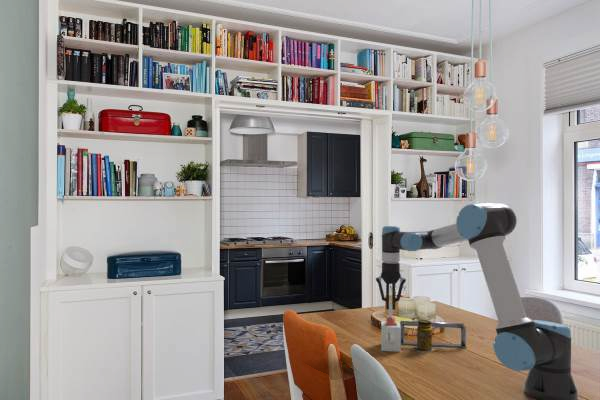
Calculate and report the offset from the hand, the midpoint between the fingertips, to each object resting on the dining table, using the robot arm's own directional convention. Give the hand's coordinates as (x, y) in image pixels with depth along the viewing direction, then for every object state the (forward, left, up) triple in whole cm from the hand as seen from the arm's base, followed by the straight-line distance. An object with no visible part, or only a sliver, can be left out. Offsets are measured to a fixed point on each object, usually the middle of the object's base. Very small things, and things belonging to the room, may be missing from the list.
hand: (390, 317), depth 204 cm
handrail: (+7, -18, -13) cm, 23 cm away
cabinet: (0, 0, -13) cm, 13 cm away
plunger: (0, 0, -9) cm, 9 cm away
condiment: (0, -13, -13) cm, 19 cm away
